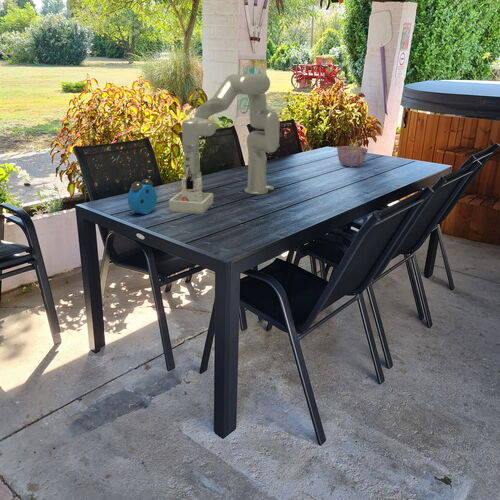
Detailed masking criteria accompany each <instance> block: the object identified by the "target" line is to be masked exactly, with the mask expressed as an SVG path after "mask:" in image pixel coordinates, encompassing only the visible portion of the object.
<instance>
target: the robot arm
mask: <svg viewBox="0 0 500 500" xmlns="http://www.w3.org/2000/svg"><path fill="white" fill-rule="evenodd" d="M270 86H271V79H270V78H269V76H267V74H261V73H251V72H249V73H243V74H229V75H228V76H226V77H225V80H224V81H223V82H222V84H221V85H220V86H219V88H218V89H217V91H215V94H214V95H213V96H212V97H211V98H210V99H207V100H206V101H205V102H203V103H202V104H201V105H200V106H198V107H197V108H196V109H195V111H194V112H193V113H192V115H191V116H190V118H189V119H185V120H183V121H182V122H181V135H182V136H181V137H182V138H181V141H182V153H183V172H184V175H185V176H184V177H186V189H193V181H192V178H193V175H196V173H197V172H201V167H200V165H201V162H200V137H210V136H212V135H214V134H215V133H216V131H217V126H216V125H217V124H216V123H215V122H214V120H211V119H209V118H211V116H213V115H215V114H219V113H222V112H224V111H227V110H228V109H229V108H230V106H231V104H232V103H233V101H234V100H235V99H236V97H237V95H246V96H247V97H248V101H249V124H250V126H251V127H253V128H254V129H258V130H252V131H251V132H249V134H248V135H247V137H246V146H247V151H248V154H247V155H248V161H247V163H248V164H247V165H248V166H247V187H245V188H244V193H247V194H248V195H249V194H251V195H265V194H268V193H269V191H271V190H272V191H274V188H275V186H273V185H269V184H268V182H267V158H268V157H267V154H266V153H274V152H277V150H278V148H279V145H280V117H279V115H278V113H277V112H276V111H274V110H268V109H267V106H268V105H267V96H266V94H265V93H266V92H267V91H269V89H270ZM261 130H264V131H261ZM189 173H191V174H189ZM189 175H191V177H190V176H189Z"/></svg>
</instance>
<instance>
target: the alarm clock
mask: <svg viewBox="0 0 500 500" xmlns="http://www.w3.org/2000/svg"><path fill="white" fill-rule="evenodd" d="M153 184H154V183H153V182H152V181H151V180H150V179H149V178H148V179H147V178H146V179H143V180H141V181H135V182H133V183H132V184H131V188H130V190H129V192H128V195H127V203H128V207H129V209H130V210H131V212H134V215H136V214H137V213H138V214H142V215H148V214H150V213H151V212H152V211H154V209H155V207H156V204H157V200H158V198H157V197H158V196H157V191H156V189H155V188H154V186H153Z"/></svg>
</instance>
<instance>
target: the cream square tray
mask: <svg viewBox="0 0 500 500" xmlns="http://www.w3.org/2000/svg"><path fill="white" fill-rule="evenodd" d="M213 204H214V193H213V192H202V202H201V203H198V202H186V201H182V190H181V191H179V192H178V193H177V194H176V195H174V196H173V197H172V198H170V199H169V200H168V211H169V212H174V213H175V212H176V213H183V214H184V213H185V214H186V213H187V214H196V215H198V214H200V215H203V214H204V213H205V212H206V211H207V210H208V209H209V208H210V207H212V206H213Z"/></svg>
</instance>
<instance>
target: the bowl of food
mask: <svg viewBox="0 0 500 500" xmlns="http://www.w3.org/2000/svg"><path fill="white" fill-rule="evenodd" d="M336 149H337V157H338V161H339V162H340V164H341V165H346V166H357V167H358V166H361V165H362V164H363V163H364V161H365V159H366V156H367V153H368V148H366V147H362V146H356V145H355V146H354V145H353V146H352V145H342V146H338V147H336ZM346 166H345V167H346Z"/></svg>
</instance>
